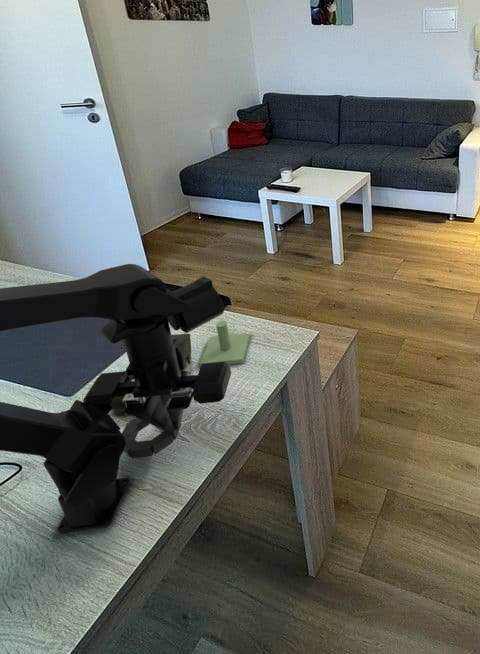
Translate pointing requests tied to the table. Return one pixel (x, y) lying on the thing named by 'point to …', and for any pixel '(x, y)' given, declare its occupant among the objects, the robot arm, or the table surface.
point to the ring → (150, 446)
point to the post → (225, 346)
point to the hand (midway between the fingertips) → (172, 427)
